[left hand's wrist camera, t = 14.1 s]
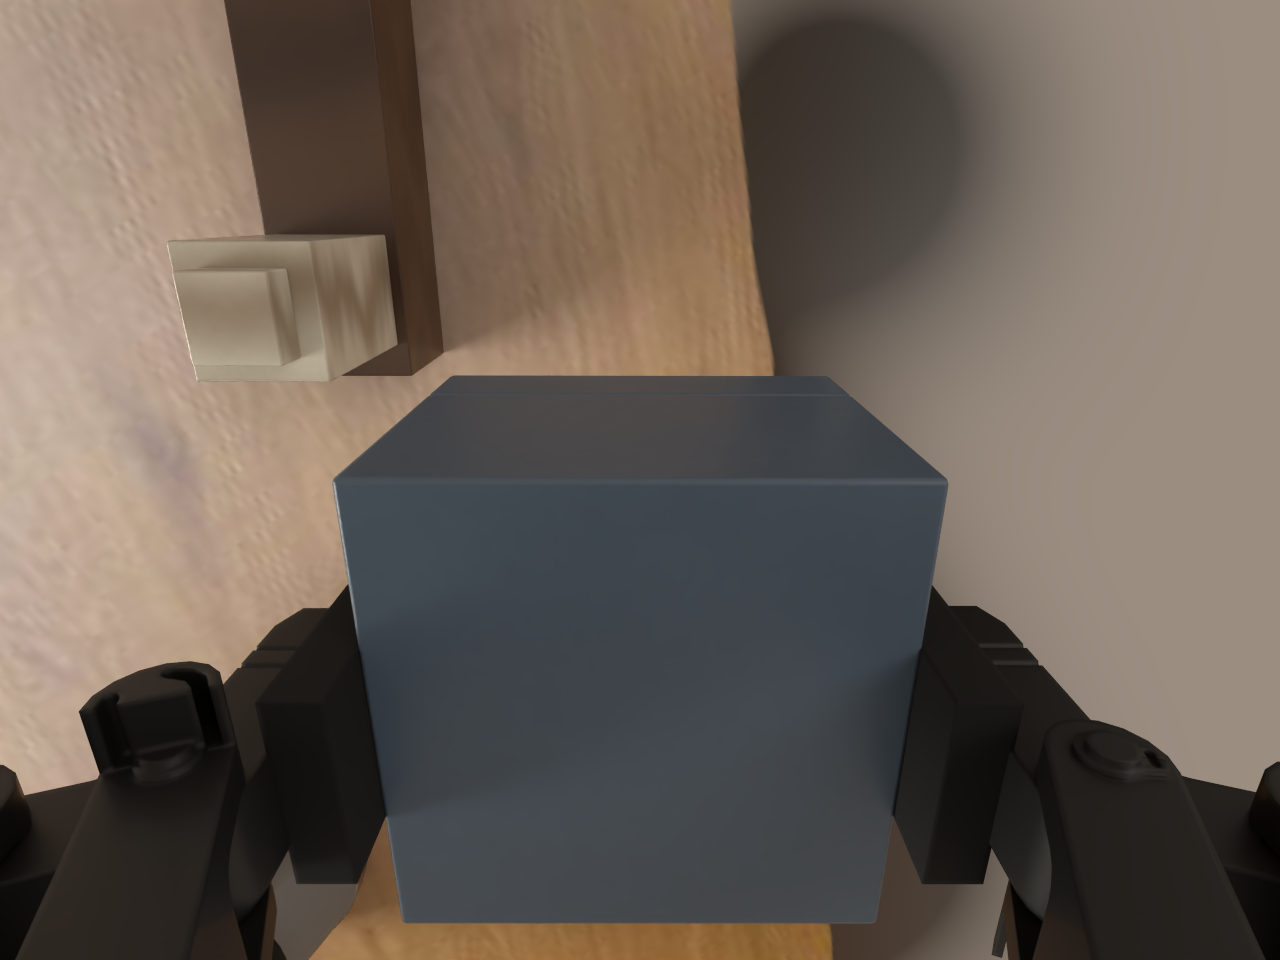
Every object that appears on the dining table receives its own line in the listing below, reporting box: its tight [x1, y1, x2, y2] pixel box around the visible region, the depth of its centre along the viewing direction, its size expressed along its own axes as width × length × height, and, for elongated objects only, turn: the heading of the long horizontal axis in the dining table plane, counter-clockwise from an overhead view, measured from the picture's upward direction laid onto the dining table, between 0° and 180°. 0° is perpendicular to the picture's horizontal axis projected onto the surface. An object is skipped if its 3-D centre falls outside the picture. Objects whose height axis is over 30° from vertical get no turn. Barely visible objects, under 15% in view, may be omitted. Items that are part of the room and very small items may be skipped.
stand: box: [167, 0, 443, 382], centre depth 28 cm, size 26×6×16 cm, turn 0°
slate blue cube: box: [333, 376, 948, 923], centre depth 12 cm, size 7×7×6 cm
